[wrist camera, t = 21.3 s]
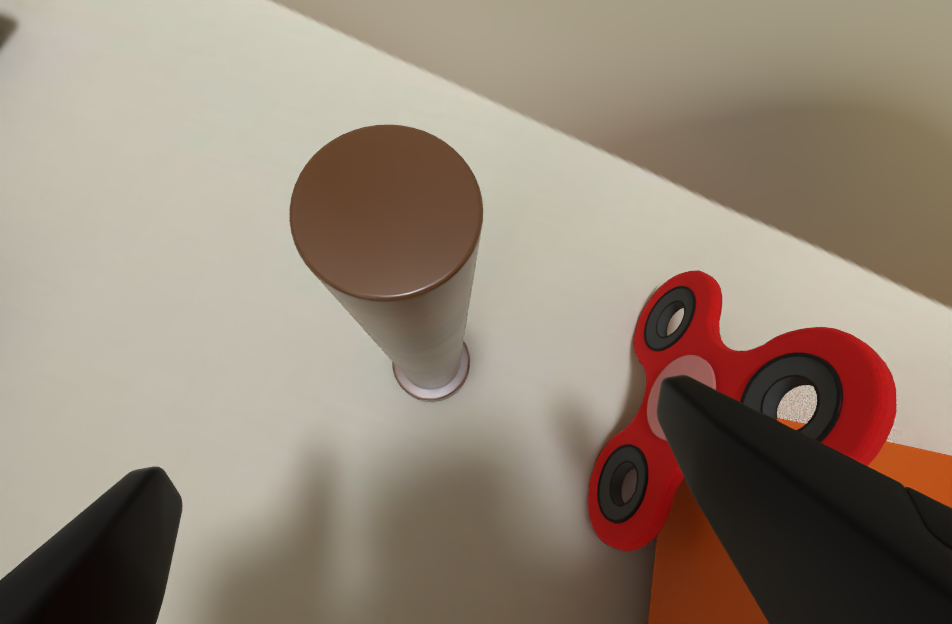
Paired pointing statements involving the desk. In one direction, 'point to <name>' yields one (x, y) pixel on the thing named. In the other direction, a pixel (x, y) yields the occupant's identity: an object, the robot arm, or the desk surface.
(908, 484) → the tape dispenser
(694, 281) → the toy
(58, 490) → the desk surface
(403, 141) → the brown rod with base
